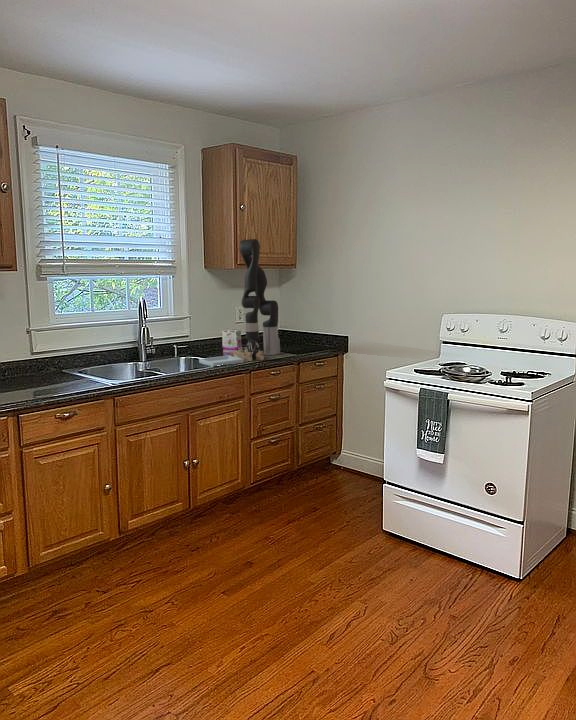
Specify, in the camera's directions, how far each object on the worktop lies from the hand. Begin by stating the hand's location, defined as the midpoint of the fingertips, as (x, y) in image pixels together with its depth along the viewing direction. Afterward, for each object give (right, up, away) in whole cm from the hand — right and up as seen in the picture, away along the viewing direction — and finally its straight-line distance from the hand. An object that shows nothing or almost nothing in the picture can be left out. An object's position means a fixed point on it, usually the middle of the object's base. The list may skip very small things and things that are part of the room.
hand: (253, 359), depth 354 cm
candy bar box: (-14, +1, +16) cm, 21 cm away
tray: (-18, -2, -4) cm, 19 cm away
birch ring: (-3, 0, +5) cm, 6 cm away
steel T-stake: (-5, 0, +7) cm, 9 cm away
